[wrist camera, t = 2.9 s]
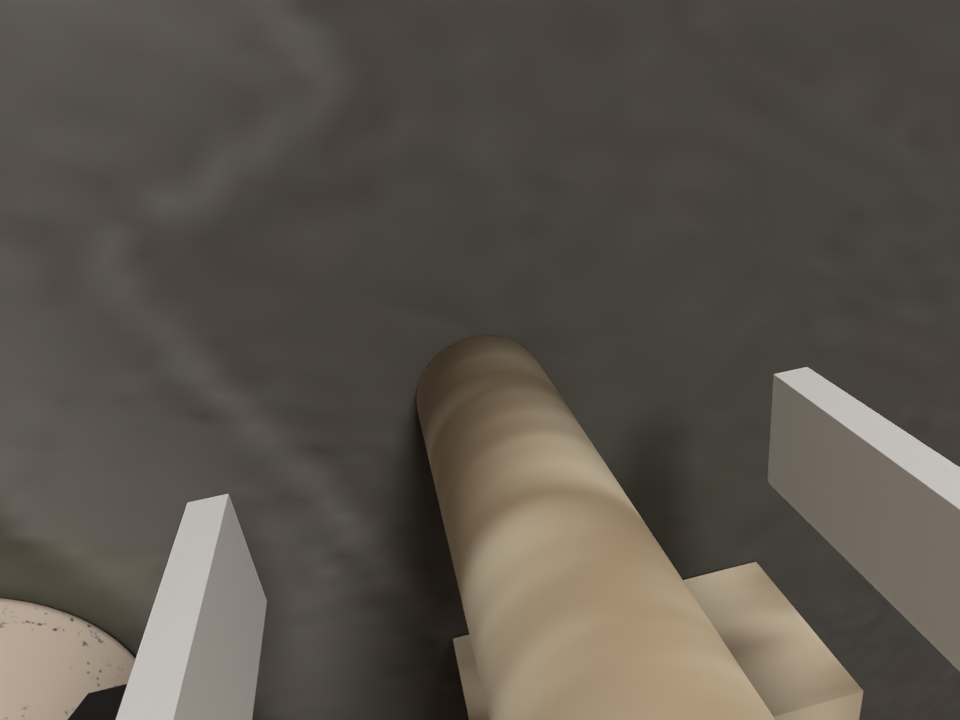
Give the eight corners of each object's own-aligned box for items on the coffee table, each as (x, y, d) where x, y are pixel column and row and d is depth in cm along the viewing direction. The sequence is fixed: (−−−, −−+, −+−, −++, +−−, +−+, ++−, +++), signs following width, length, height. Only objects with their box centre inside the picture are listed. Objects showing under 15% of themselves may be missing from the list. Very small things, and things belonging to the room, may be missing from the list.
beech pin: (419, 477, 18) (653, 1650, 5) (390, 341, 17) (635, 1574, 3) (561, 444, 19) (1139, 1432, 5) (549, 309, 17) (1350, 1262, 4)
